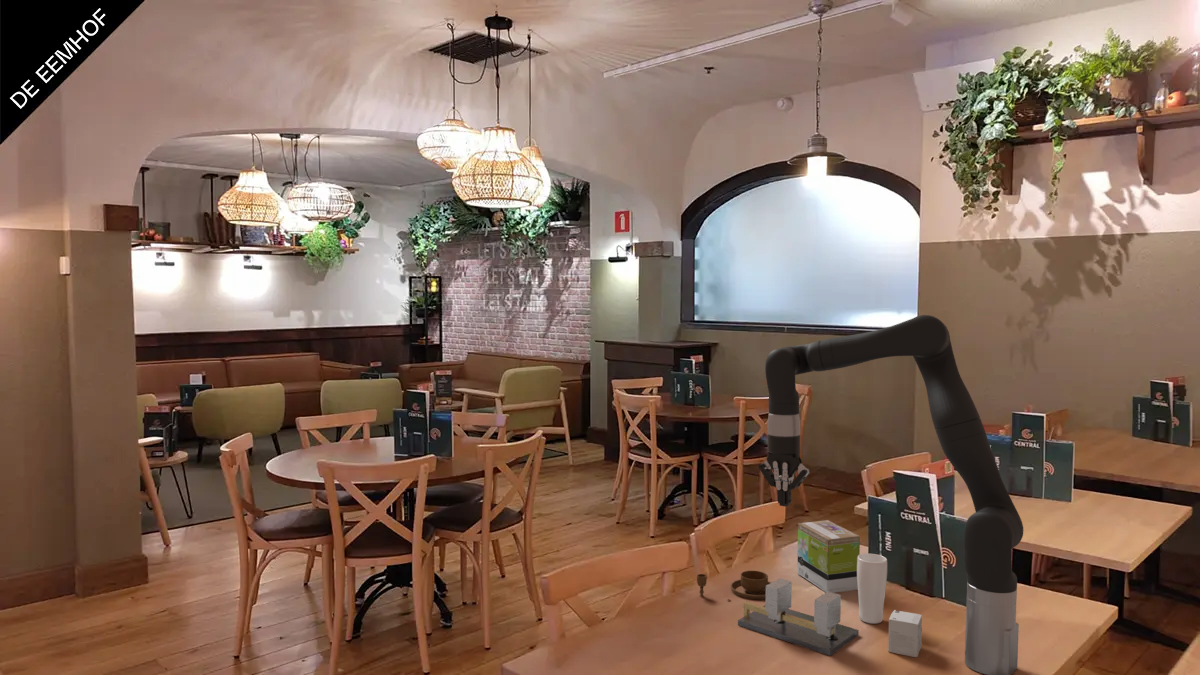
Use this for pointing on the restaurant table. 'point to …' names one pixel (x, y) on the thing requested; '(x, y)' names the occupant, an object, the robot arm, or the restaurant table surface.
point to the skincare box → (905, 633)
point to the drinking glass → (871, 586)
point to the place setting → (743, 584)
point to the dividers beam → (824, 614)
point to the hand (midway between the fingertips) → (784, 505)
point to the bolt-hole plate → (799, 632)
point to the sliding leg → (778, 598)
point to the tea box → (828, 556)
